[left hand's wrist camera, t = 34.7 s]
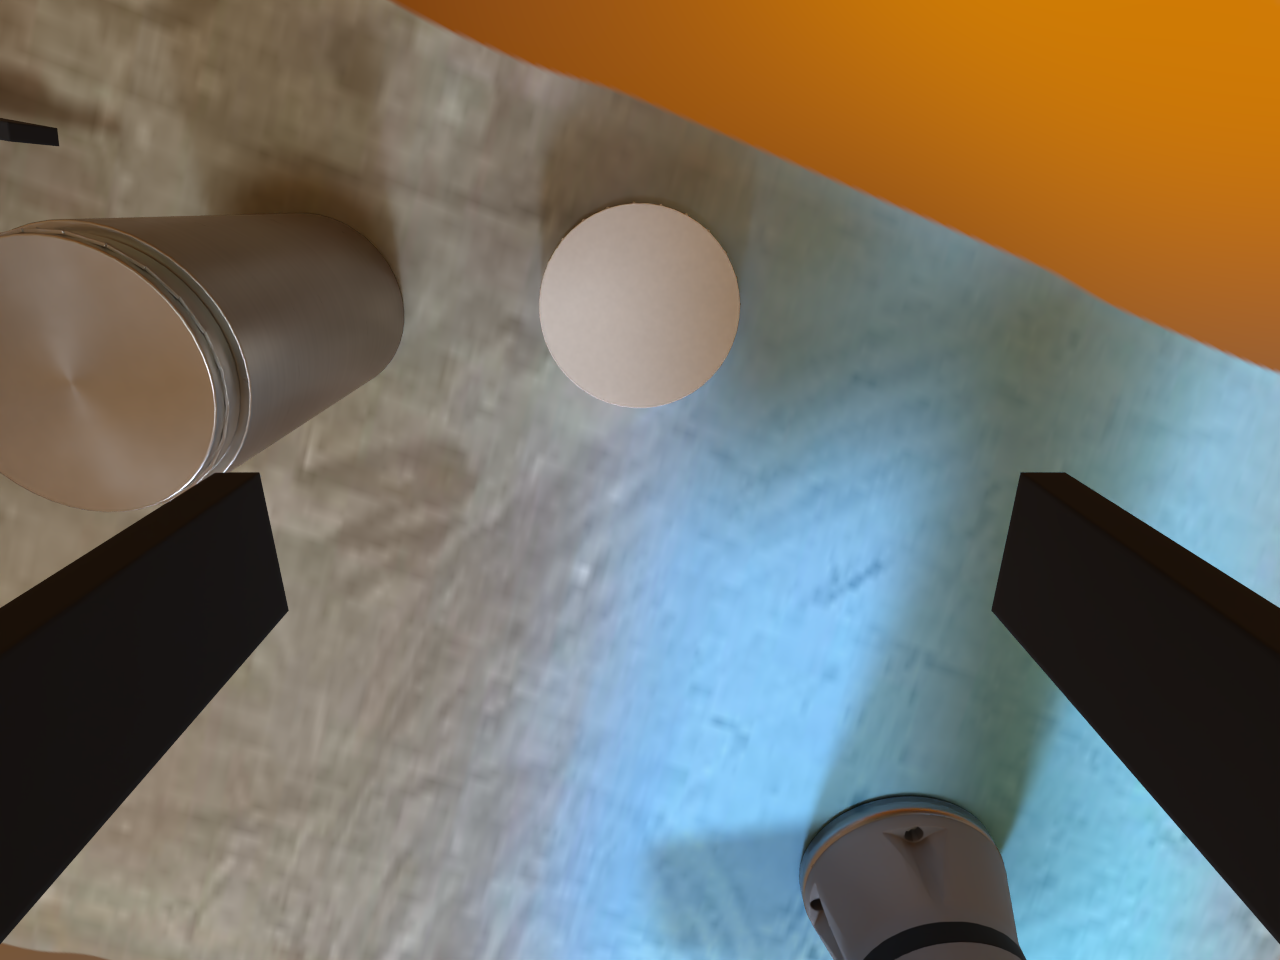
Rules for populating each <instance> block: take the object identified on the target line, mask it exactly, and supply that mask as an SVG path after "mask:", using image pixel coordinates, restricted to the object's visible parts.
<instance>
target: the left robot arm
mask: <svg viewBox="0 0 1280 960" xmlns="http://www.w3.org/2000/svg"><path fill="white" fill-rule="evenodd" d="M288 611H289V610H288V606H287V601H286V596H285V591H284V587H283V582H282V577H281V572H280V568H279V563H278V558H277V554H276V549H275V544H274V539H273V535H272V530H271V525H270V520H269V516H268V511H267V506H266V502H265V497H264V492H263V487H262V483H261V478H260V473H213V474H212V475H210V476H209V477H207V478H205V479H204V480H202V481H201V482H199V483H198V484H196V485H194V486H193V487H191V488H190V489H188V490H186V491H185V492H183V493H182V494H180V495H179V496H177V497H175V498H174V499H172V500H171V501H169V502H167V503H166V504H164V505H163V506H161V507H160V508H158V509H156V510H155V511H153V512H152V513H150V514H148V515H147V516H145V517H144V518H142V519H141V520H139V521H137V522H136V523H134V524H133V525H131V526H129V527H128V528H126V529H125V530H123V531H122V532H120V533H118V534H117V535H115V536H114V537H112V538H110V539H109V540H107V541H106V542H104V543H103V544H101V545H99V546H98V547H96V548H95V549H93V550H91V551H90V552H88V553H87V554H85V555H84V556H82V557H80V558H79V559H77V560H76V561H74V562H72V563H71V564H69V565H68V566H66V567H65V568H63V569H61V570H60V571H58V572H57V573H55V574H53V575H52V576H50V577H49V578H47V579H46V580H44V581H42V582H41V583H39V584H38V585H36V586H34V587H33V588H31V589H30V590H28V591H27V592H25V593H23V594H22V595H20V596H19V597H17V598H16V599H14V600H12V601H11V602H9V603H8V604H6V605H4V606H3V607H1V608H0V944H1V943H2V941H3V940H4V939H5V938H6V937H7V936H8V934H9V933H10V932H11V931H12V930H13V929H14V928H15V926H16V925H17V924H18V923H19V922H20V921H21V919H22V918H23V917H24V916H25V915H26V914H27V913H28V911H29V910H30V909H31V908H32V907H33V906H34V904H35V903H36V902H37V901H38V900H39V899H40V897H41V896H42V895H43V894H44V893H45V892H46V891H47V889H48V888H49V887H50V886H51V885H52V884H53V882H54V881H55V880H56V879H57V878H58V877H59V875H60V874H61V873H62V872H63V871H64V870H65V869H66V867H67V866H68V865H69V864H70V863H71V862H72V860H73V859H74V858H75V857H76V856H77V855H78V854H79V852H80V851H81V850H82V849H83V848H84V847H85V845H86V844H87V843H88V842H89V841H90V840H91V838H92V837H93V836H94V835H95V834H96V833H97V832H98V830H99V829H100V828H101V827H102V826H103V825H104V823H105V822H106V821H107V820H108V819H109V818H110V817H111V815H112V814H113V813H114V812H115V811H116V810H117V808H118V807H119V806H120V805H121V804H122V803H123V801H124V800H125V799H126V798H127V797H128V796H129V795H130V793H131V792H132V791H133V790H134V789H135V788H136V786H137V785H138V784H139V783H140V782H141V781H142V779H143V778H144V777H145V776H146V775H147V774H148V773H149V771H150V770H151V769H152V768H153V767H154V766H155V764H156V763H157V762H158V761H159V760H160V759H161V758H162V756H163V755H164V754H165V753H166V752H167V751H168V749H169V748H170V747H171V746H172V745H173V744H174V742H175V741H176V740H177V739H178V738H179V737H180V736H181V734H182V733H183V732H184V731H185V730H186V729H187V727H188V726H189V725H190V724H191V723H192V722H193V720H194V719H195V718H196V717H197V716H198V715H199V714H200V712H201V711H202V710H203V709H204V708H205V707H206V705H207V704H208V703H209V702H210V701H211V700H212V699H213V697H214V696H215V695H216V694H217V693H218V692H219V690H220V689H221V688H222V687H223V686H224V685H225V683H226V682H227V681H228V680H229V679H230V678H231V677H232V675H233V674H234V673H235V672H236V671H237V670H238V668H239V667H240V666H241V665H242V664H243V663H244V661H245V660H246V659H247V658H248V657H249V656H250V655H251V653H252V652H253V651H254V650H255V649H256V648H257V646H258V645H259V644H260V643H261V642H262V641H263V640H264V638H265V637H266V636H267V635H268V634H269V633H270V631H271V630H272V629H273V628H274V627H275V626H276V624H277V623H278V622H279V621H280V620H281V619H282V618H283V616H284V615H285V614H286V613H287V612H288ZM991 611H992V612H993V613H994V614H995V615H996V616H997V618H998V619H999V620H1000V621H1001V622H1002V623H1003V624H1004V626H1005V627H1006V628H1007V629H1008V630H1009V631H1010V633H1011V634H1012V635H1013V636H1014V637H1015V638H1016V640H1017V641H1018V642H1019V643H1020V644H1021V645H1022V646H1023V648H1024V649H1025V650H1026V651H1027V652H1028V653H1029V655H1030V656H1031V657H1032V658H1033V659H1034V660H1035V662H1036V663H1037V664H1038V665H1039V666H1040V667H1041V668H1042V670H1043V671H1044V672H1045V673H1046V674H1047V675H1048V677H1049V678H1050V679H1051V680H1052V681H1053V682H1054V683H1055V685H1056V686H1057V687H1058V688H1059V689H1060V690H1061V692H1062V693H1063V694H1064V695H1065V696H1066V697H1067V699H1068V700H1069V701H1070V702H1071V703H1072V704H1073V705H1074V707H1075V708H1076V709H1077V710H1078V711H1079V712H1080V714H1081V715H1082V716H1083V717H1084V718H1085V719H1086V720H1087V722H1088V723H1089V724H1090V725H1091V726H1092V727H1093V729H1094V730H1095V731H1096V732H1097V733H1098V734H1099V736H1100V737H1101V738H1102V739H1103V740H1104V741H1105V742H1106V744H1107V745H1108V746H1109V747H1110V748H1111V749H1112V751H1113V752H1114V753H1115V754H1116V755H1117V756H1118V758H1119V759H1120V760H1121V761H1122V762H1123V763H1124V764H1125V766H1126V767H1127V768H1128V769H1129V770H1130V771H1131V773H1132V774H1133V775H1134V776H1135V777H1136V778H1137V779H1138V781H1139V782H1140V783H1141V784H1142V785H1143V786H1144V788H1145V789H1146V790H1147V791H1148V792H1149V793H1150V795H1151V796H1152V797H1153V798H1154V799H1155V800H1156V801H1157V803H1158V804H1159V805H1160V806H1161V807H1162V808H1163V810H1164V811H1165V812H1166V813H1167V814H1168V815H1169V817H1170V818H1171V819H1172V820H1173V821H1174V822H1175V823H1176V825H1177V826H1178V827H1179V828H1180V829H1181V830H1182V832H1183V833H1184V834H1185V835H1186V836H1187V837H1188V838H1189V840H1190V841H1191V842H1192V843H1193V844H1194V845H1195V847H1196V848H1197V849H1198V850H1199V851H1200V852H1201V854H1202V855H1203V856H1204V857H1205V858H1206V859H1207V860H1208V862H1209V863H1210V864H1211V865H1212V866H1213V867H1214V869H1215V870H1216V871H1217V872H1218V873H1219V874H1220V875H1221V877H1222V878H1223V879H1224V880H1225V881H1226V882H1227V884H1228V885H1229V886H1230V887H1231V888H1232V889H1233V891H1234V892H1235V893H1236V894H1237V895H1238V896H1239V897H1240V899H1241V900H1242V901H1243V902H1244V903H1245V904H1246V906H1247V907H1248V908H1249V909H1250V910H1251V911H1252V913H1253V914H1254V915H1255V916H1256V917H1257V918H1258V919H1259V921H1260V922H1261V923H1262V924H1263V925H1264V926H1265V928H1266V929H1267V930H1268V931H1269V932H1270V933H1271V934H1272V936H1273V937H1274V938H1275V939H1276V940H1277V941H1278V943H1279V944H1280V608H1279V607H1277V606H1276V605H1274V604H1272V603H1271V602H1269V601H1268V600H1266V599H1264V598H1263V597H1261V596H1260V595H1258V594H1257V593H1255V592H1253V591H1252V590H1250V589H1249V588H1247V587H1245V586H1244V585H1242V584H1241V583H1239V582H1238V581H1236V580H1234V579H1233V578H1231V577H1230V576H1228V575H1227V574H1225V573H1223V572H1222V571H1220V570H1219V569H1217V568H1215V567H1214V566H1212V565H1211V564H1209V563H1208V562H1206V561H1204V560H1203V559H1201V558H1200V557H1198V556H1196V555H1195V554H1193V553H1192V552H1190V551H1189V550H1187V549H1185V548H1184V547H1182V546H1181V545H1179V544H1177V543H1176V542H1174V541H1173V540H1171V539H1170V538H1168V537H1166V536H1165V535H1163V534H1162V533H1160V532H1158V531H1157V530H1155V529H1154V528H1152V527H1151V526H1149V525H1147V524H1146V523H1144V522H1143V521H1141V520H1139V519H1138V518H1136V517H1135V516H1133V515H1132V514H1130V513H1128V512H1127V511H1125V510H1124V509H1122V508H1120V507H1119V506H1117V505H1116V504H1114V503H1113V502H1111V501H1109V500H1108V499H1106V498H1105V497H1103V496H1101V495H1100V494H1098V493H1097V492H1095V491H1094V490H1092V489H1090V488H1089V487H1087V486H1086V485H1084V484H1082V483H1081V482H1079V481H1078V480H1076V479H1075V478H1073V477H1071V476H1070V475H1068V474H1067V473H1020V478H1019V483H1018V487H1017V492H1016V497H1015V502H1014V506H1013V511H1012V516H1011V520H1010V525H1009V530H1008V535H1007V539H1006V544H1005V549H1004V554H1003V558H1002V563H1001V568H1000V572H999V577H998V582H997V587H996V591H995V596H994V601H993V606H992V610H991ZM799 883H800V888H801V893H802V897H803V901H804V905H805V909H806V912H807V915H808V917H809V919H810V921H811V923H812V925H813V926H814V928H815V930H816V931H817V933H818V935H819V936H820V938H821V940H822V941H823V943H824V945H825V946H826V948H827V949H828V951H829V953H830V954H831V956H832V958H833V959H834V960H1026V958H1025V956H1024V954H1023V952H1022V950H1021V948H1020V946H1019V943H1018V938H1017V933H1016V927H1015V921H1014V915H1013V910H1012V904H1011V898H1010V892H1009V887H1008V881H1007V875H1006V870H1005V867H1004V862H1003V859H1002V856H1001V854H1000V852H999V851H998V849H997V847H996V845H995V843H994V841H993V840H992V838H991V836H990V834H989V832H988V831H987V829H986V828H985V827H984V825H983V824H982V823H981V822H980V821H979V820H978V819H977V818H976V817H975V816H973V815H972V814H971V813H969V812H968V811H966V810H964V809H962V808H961V807H959V806H956V805H954V804H952V803H949V802H946V801H942V800H938V799H934V798H927V797H916V796H903V797H892V798H886V799H881V800H877V801H873V802H870V803H866V804H863V805H861V806H858V807H856V808H854V809H851V810H849V811H847V812H845V813H844V814H842V815H840V816H839V817H837V818H836V819H834V820H833V821H831V822H830V823H829V824H828V825H826V826H825V827H824V828H823V829H822V830H821V831H820V832H819V833H818V834H817V835H816V836H815V837H814V839H813V840H812V841H811V843H810V844H809V846H808V847H807V849H806V851H805V853H804V855H803V858H802V861H801V865H800V871H799Z"/></svg>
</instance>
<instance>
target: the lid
mask: <svg viewBox="0 0 1280 960" xmlns="http://www.w3.org/2000/svg"><path fill="white" fill-rule="evenodd" d="M581 221H582V222H581V223H579V224H578V225H577V226H576V227H575V228H573V229H572V230H571V231H570V232H569V233H568V234H567V235H566V236H565V237H563V238H562V239H561V240H562V241H561V242H560V244H559V245H558V247H557V248H556V249H555V251H554V253H553V255H552V256H551V258H550V260H549V261H548V262H547V263H548V264H547V267H546V270H545V273H544V275H543V279H542V284H541V287H540V298H539V316H540V322H541V328H542V332H543V335H544V338H545V342H546V344H547V346H548V348H549V351H550V353H551V355H552V356H553V358H554V360H555V361H556V363H557V365H558V366H559V367H560V369H561V370H562V371H563V372H564V374H565V375H566V376H567V377H568V378H569V379H570V380H571V381H572V382H573V383H574V384H576V385H577V386H578V387H580V388H581V389H582V390H584V391H585V392H587V393H588V394H590V395H592V396H594V397H595V398H597V399H600V400H602V401H605V402H607V403H610V404H614V405H618V406H623V407H630V408H648V407H657V406H661V405H665V404H669V403H672V402H674V401H677V400H680V399H682V398H684V397H685V396H687V395H689V394H691V393H693V392H694V391H695V390H697V389H698V388H700V387H701V386H702V385H703V384H705V383H706V382H707V381H708V380H709V379H710V378H711V377H712V376H713V375H714V374H715V372H716V371H717V370H718V369H719V368H720V366H721V365H722V363H723V362H724V360H725V358H726V357H727V355H728V353H729V351H730V349H731V347H732V344H733V342H734V338H735V335H736V332H737V328H738V322H739V314H740V297H739V289H738V284H737V276H735V273H734V270H733V267H732V264H731V262H730V260H729V258H728V256H727V254H726V253H727V252H726V251H725V250H723V248H722V247H721V245H720V244H719V242H718V241H717V240H716V239H715V238H714V236H713V235H712V234H711V233H710V230H709V229H706V228H704V227H703V226H702V225H701V224H700V223H698V222H697V221H695V220H694V219H692V218H691V217H689V216H688V214H687V213H685V214H683V213H681V212H679V211H677V210H675V209H672V208H668V207H665V206H662V204H660V205H655V204H649V203H635V201H634V202H633V203H631V204H623V205H618V206H614V207H611V208H609V207H606V209H605V210H602V211H600V212H598V213H595V214H593V215H592V216H590V217H588V218H587V219H582V220H581Z"/></svg>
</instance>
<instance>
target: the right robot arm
mask: <svg viewBox="0 0 1280 960" xmlns="http://www.w3.org/2000/svg"><path fill="white" fill-rule="evenodd" d="M0 140H5V141H11V142H22V143H32V144H42V145H52V146H59V141H58V132H57V128H53V127H47V126H42V125H36V124H31V123H25V122H20V121H14V120H9V119H3V118H0Z"/></svg>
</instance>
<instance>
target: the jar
mask: <svg viewBox="0 0 1280 960" xmlns="http://www.w3.org/2000/svg"><path fill="white" fill-rule="evenodd" d="M403 324H404V309H403V302H402V297H401V293H400V289H399V286H398V283H397V281H396V278H395V276H394V274H393V272H392V270H391V268H390V267H389V265H388V263H387V262H386V260H385V259H384V258H383V256H382V255H381V253H380V252H379V251H378V250H377V249H376V248H375V247H374V246H373V244H371V243H370V242H369V241H368V240H367V239H366V238H365V237H364V236H362V235H361V234H360V233H358V232H357V231H355V230H354V229H353V228H351V227H349V226H347V225H345V224H343V223H342V222H339V221H337V220H334V219H332V218H329V217H325V216H321V215H317V214H309V213H284V214H247V215H209V216H172V217H134V218H97V219H59V220H46V221H40V222H34V223H29V224H27V225H24V226H21V227H18V228H15V229H12V230H10V231H6V232H2V233H0V473H2V474H3V475H5V476H6V477H8V478H9V479H10V480H12V481H13V482H15V483H16V484H18V485H20V486H22V487H24V488H25V489H27V490H29V491H31V492H33V493H35V494H37V495H39V496H42V497H44V498H46V499H49V500H51V501H54V502H57V503H60V504H63V505H66V506H69V507H74V508H79V509H84V510H90V511H100V512H124V511H131V510H138V509H142V508H146V507H149V506H153V505H157V504H162V503H167V502H169V501H171V500H172V499H174V498H175V497H177V496H179V495H180V494H182V493H183V492H185V491H186V490H188V489H190V488H191V487H193V486H194V485H196V484H198V483H199V482H201V481H202V480H204V479H205V478H207V477H209V476H210V475H212V474H213V473H229V472H230V471H232V470H233V469H235V468H236V467H238V466H240V465H241V464H243V463H244V462H246V461H247V460H249V459H250V458H252V457H253V456H255V455H256V454H258V453H259V452H261V451H262V450H264V449H266V448H267V447H269V446H270V445H272V444H273V443H275V442H276V441H278V440H279V439H281V438H282V437H284V436H285V435H287V434H289V433H290V432H292V431H293V430H295V429H296V428H298V427H299V426H301V425H302V424H304V423H305V422H307V421H308V420H310V419H312V418H313V417H315V416H316V415H318V414H319V413H321V412H322V411H324V410H325V409H327V408H328V407H330V406H331V405H333V404H334V403H336V402H338V401H339V400H341V399H342V398H344V397H345V396H347V395H348V394H350V393H351V392H353V391H354V390H356V389H357V388H359V387H361V386H362V385H364V384H365V383H367V382H368V381H370V380H371V379H373V378H374V377H376V376H377V375H378V374H379V373H380V372H381V371H383V370H384V369H385V367H386V366H387V365H388V364H389V363H390V361H391V360H392V358H393V356H394V355H395V353H396V351H397V348H398V346H399V344H400V340H401V336H402V332H403Z"/></svg>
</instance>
